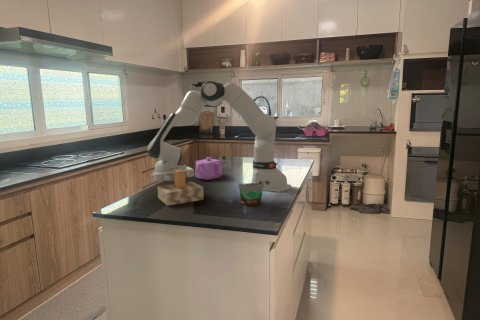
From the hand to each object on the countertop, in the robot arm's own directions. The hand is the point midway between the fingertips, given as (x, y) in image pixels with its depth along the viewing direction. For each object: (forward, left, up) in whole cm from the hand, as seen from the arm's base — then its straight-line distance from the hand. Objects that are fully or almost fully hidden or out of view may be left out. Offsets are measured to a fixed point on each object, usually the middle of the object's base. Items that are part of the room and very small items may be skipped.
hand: (179, 177), depth 162 cm
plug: (-1, +1, -10) cm, 10 cm away
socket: (-1, +1, -10) cm, 10 cm away
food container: (-35, -11, -11) cm, 38 cm away
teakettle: (+19, -43, -11) cm, 49 cm away
